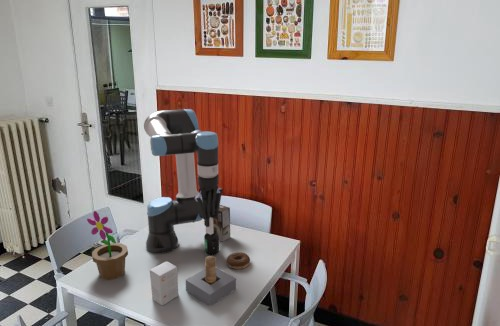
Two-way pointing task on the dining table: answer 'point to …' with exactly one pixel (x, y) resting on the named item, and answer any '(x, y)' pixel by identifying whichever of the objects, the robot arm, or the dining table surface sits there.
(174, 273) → the small box
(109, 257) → the flowerpot
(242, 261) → the donut
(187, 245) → the dining table surface
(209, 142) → the robot arm
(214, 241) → the supplement bottle
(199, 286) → the socket block
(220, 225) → the coffee box
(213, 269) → the oak peg
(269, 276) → the dining table surface
